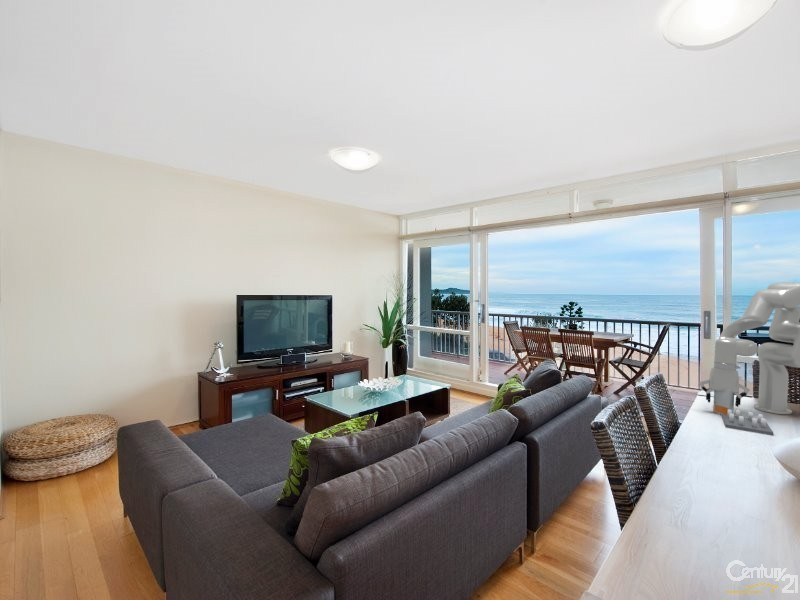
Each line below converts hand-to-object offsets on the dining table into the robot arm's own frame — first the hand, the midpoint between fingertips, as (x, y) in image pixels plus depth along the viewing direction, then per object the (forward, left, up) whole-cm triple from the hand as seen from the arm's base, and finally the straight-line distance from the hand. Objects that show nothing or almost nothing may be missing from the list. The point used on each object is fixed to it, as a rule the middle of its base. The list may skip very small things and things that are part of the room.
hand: (722, 403), depth 169 cm
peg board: (+13, +6, -5) cm, 15 cm away
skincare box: (0, 0, -5) cm, 5 cm away
